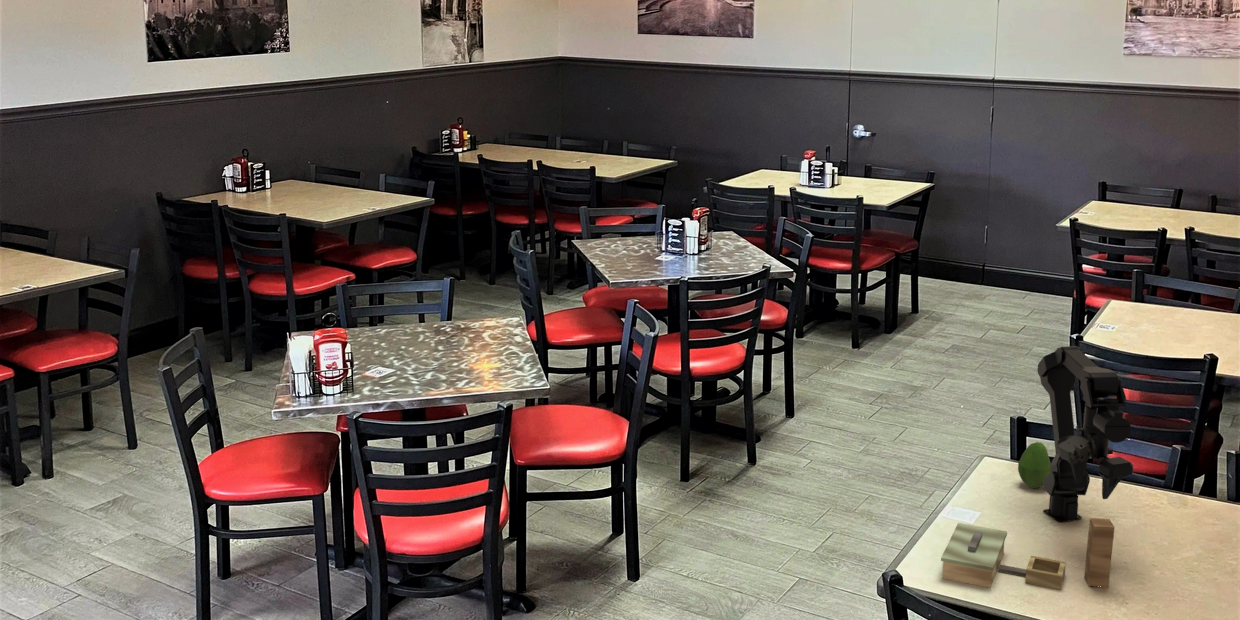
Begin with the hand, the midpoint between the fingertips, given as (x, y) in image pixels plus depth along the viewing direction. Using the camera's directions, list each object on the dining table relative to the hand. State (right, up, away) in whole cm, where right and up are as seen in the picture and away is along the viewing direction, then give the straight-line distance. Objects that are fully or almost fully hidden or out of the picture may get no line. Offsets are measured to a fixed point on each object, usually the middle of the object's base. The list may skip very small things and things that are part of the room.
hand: (1091, 490), depth 257 cm
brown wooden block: (-5, -17, -14) cm, 23 cm away
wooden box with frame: (-22, -16, -8) cm, 29 cm away
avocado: (-1, -5, +34) cm, 35 cm away
